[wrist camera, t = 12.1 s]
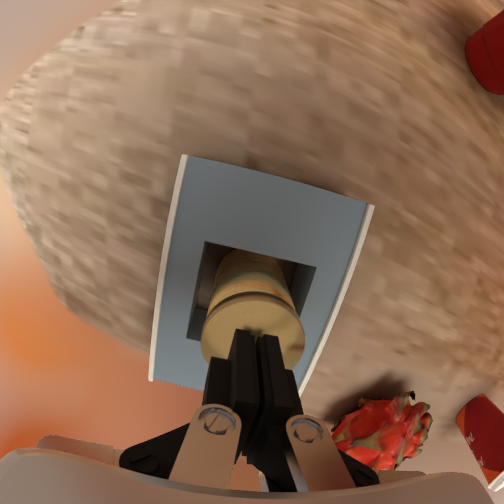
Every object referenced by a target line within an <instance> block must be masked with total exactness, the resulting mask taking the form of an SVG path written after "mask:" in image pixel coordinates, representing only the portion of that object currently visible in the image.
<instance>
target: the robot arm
mask: <svg viewBox="0 0 504 504" xmlns="http://www.w3.org/2000/svg"><path fill="white" fill-rule="evenodd" d="M241 451H242V456H247V464H252V465H254V466H255V467H256V468H257V469H258V470H259V479H260V483H261V487H262V491H263V492H255V491H241V490H230V489H229V485H230V480H231V475H232V470H233V465H234V464H236V461H237V459H238V457H239V455H240V453H241ZM0 504H494V502H493V501H492V499H491V497H490V495H489V494H488V492H487V491H486V489H485V488H484V486H483V485H482V484H481V483H480V481H479V480H478V479H477V478H476V477H474V476H472V475H469V474H465V473H457V472H444V473H443V472H442V473H434V474H428V475H426V474H425V473H423V472H419V471H389V470H378V471H377V472H375V471H374V470H373V469H371V468H370V467H368V466H366V465H365V464H363V463H361V462H360V461H358V460H356V459H354V458H353V457H351V456H349V455H348V454H346V453H345V452H343V451H341V450H340V449H338V448H337V447H336V446H335V444H334V441H333V439H332V437H331V435H330V433H329V432H328V429H327V428H326V426H325V425H324V423H322V422H321V421H320V420H319V419H317V418H315V417H312V416H309V415H304V413H303V409H302V405H301V401H300V397H299V393H298V389H297V385H296V381H295V376H294V373H293V371H292V370H289V369H285V366H284V361H283V357H282V352H281V347H280V343H279V338H278V336H274V335H269V334H263V336H262V337H260V336H258V338H257V340H256V343H255V336H254V335H250V331H247V330H242V329H237V328H236V330H235V333H234V336H233V340H232V344H231V347H230V351H229V355H228V359H223V358H218V357H213V356H211V359H210V363H209V367H208V372H207V377H206V382H205V388H204V394H203V403H202V406H201V407H200V408H198V409H197V410H196V411H195V413H194V415H193V418H192V420H191V422H190V423H188V424H186V425H184V426H181V427H179V428H177V429H175V430H172V431H170V432H167V433H165V434H163V435H160V436H158V437H155V438H153V439H151V440H148V441H145V442H143V443H140V444H137V445H134V446H132V447H130V448H128V449H126V450H119V449H114V447H113V446H109V445H103V444H96V443H91V442H86V441H81V440H76V439H71V438H67V437H63V436H58V435H48V436H44V437H43V438H42V439H40V440H39V442H38V444H37V447H36V448H22V449H16V450H14V451H12V452H10V453H8V454H7V455H5V456H4V457H3V458H2V459H1V460H0Z"/></svg>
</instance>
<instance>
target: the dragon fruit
mask: <svg viewBox="0 0 504 504" xmlns="http://www.w3.org/2000/svg"><path fill="white" fill-rule="evenodd" d="M409 395H410V396H411V397H412V400H413V399H414V400H415V393H414V391H409V392H404V393H403V394H401V395H396V397H395V398H394V399H393V401H390V400H388V399H386V398H382V399H381V400H378V401H374V400H371V399H364V398H365V397H362V398H360V399H359V401H358V402H359V404H358V407H359V406H363V407H362V408H361V409H360V410H357V411H355V412H353V413H350V414H347V415H344V416H343V417H340V418H339V419H338V421H337V422H336V423H335V425H334V427H333V428H332V429H331V432H334V433H333V434H332V436H331V437H332V439H333V441H334V444H335V446H336V447H337V448H338V449H340V450H341V451H343V452H345V453H346V454H348V455H349V456H351V457H353V458H354V459H356V460H358V461H360V462H361V463H363V464H365V465H366V466H368V467H370V468H371V469H373V470H374V471H375V472H377V471H378V470H381V469H384V468H385V469H388V470H389V471H394V470H395V469H396V468H397V467H399V465H400V464H401V462H402V461H404V460H405V458H413V457H415V456H417V455H419V454H420V453H421V451H422V450H421V449H418V447H420V446H422V445H423V442H424V441H425V440H426V439H427V437H428V435H427V433H428V432H429V428H430V426H431V424H432V422H433V420H432V417H431V415H430V413H428V412H427V411H428V409H429V408H430V407H429V406H430V405H428V404H426V403H424V402H418V403H417V404H415V405H413V406H411V405H410V402H409V400H408V397H409Z"/></svg>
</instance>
